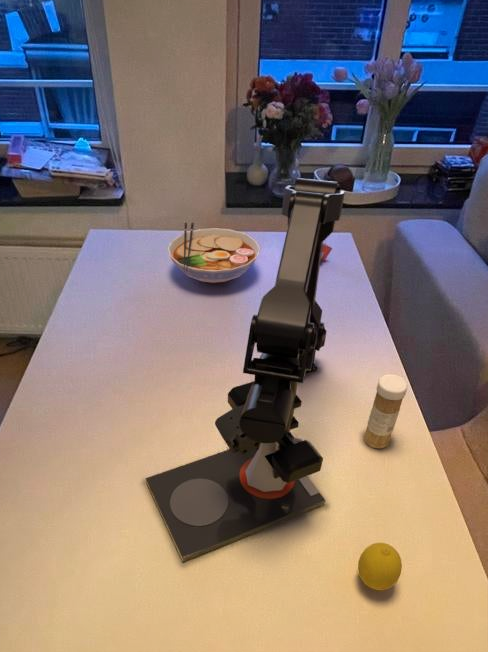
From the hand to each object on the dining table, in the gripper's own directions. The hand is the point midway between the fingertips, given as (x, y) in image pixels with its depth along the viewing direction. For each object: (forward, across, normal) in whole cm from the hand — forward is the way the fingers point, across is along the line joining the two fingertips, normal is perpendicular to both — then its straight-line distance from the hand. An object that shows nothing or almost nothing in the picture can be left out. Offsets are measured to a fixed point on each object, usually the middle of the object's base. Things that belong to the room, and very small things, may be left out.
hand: (268, 464), depth 83 cm
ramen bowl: (+4, -65, +20) cm, 68 cm away
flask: (+3, 0, 0) cm, 3 cm away
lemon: (+4, +22, +5) cm, 23 cm away
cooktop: (+4, 0, -6) cm, 7 cm away
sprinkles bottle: (+4, 0, +22) cm, 22 cm away
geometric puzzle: (+4, -61, +48) cm, 78 cm away
